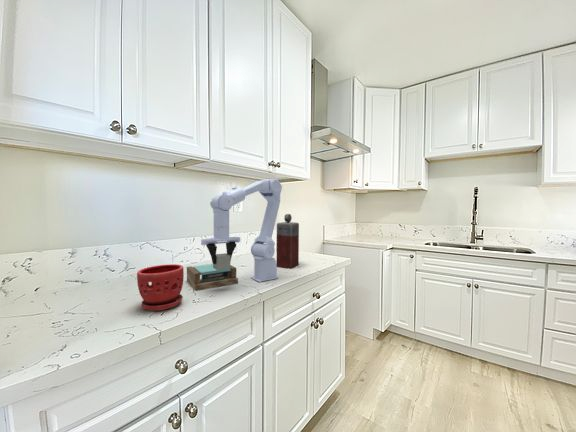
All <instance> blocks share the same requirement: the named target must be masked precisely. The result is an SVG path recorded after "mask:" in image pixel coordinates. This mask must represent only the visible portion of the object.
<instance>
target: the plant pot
mask: <svg viewBox="0 0 576 432" xmlns="http://www.w3.org/2000/svg"><path fill="white" fill-rule="evenodd" d="M184 273H185V272H184V266H183V265H181V264H174V263H173V264H160V265H159V264H158V265H153V266H148V267H144V268H142V269H139V270H138V271H137V273H136V281H137V283H136V284H137V287H138V292H139V295H140V297H141V298H142V301H141V302H140V303H141V306H142V308H143V309H144V310H147V311H155V312H157V311H163V310H167V309H171V308H174V307H175V306H177V305H179V304H180V303H181V301H182V300H183V295H182V293H181V292H182V291H183V290H182V289H183V285H184V279H185V278H184V275H185V274H184ZM149 283H151V284H149Z"/></svg>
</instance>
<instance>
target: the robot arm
mask: <svg viewBox="0 0 576 432" xmlns="http://www.w3.org/2000/svg"><path fill="white" fill-rule="evenodd" d="M282 190H283V185H282V184H281V182H280V180H279V179H278V178H272V179H271V178H269V179H261V180H257V181H255V182H253V183H251V184H249V185H246V186H245V187H243V188H242V187H237V186H233V187H232V188H231V189H230V190H228V191H222V193H221V194H217V195H214V196H213V197H212V199H211V201H210V203H209V205H210V207H211V208H212V212H213V237H212V238H204V239H203V238H201V240H200V241H201V243H200V245H202V246H206V248H207V250H208V252H209V255H210V257H211V262H212V263H211V264H216V254H217V249H218V246H217V245H218V244H219V245H220V244H225V248H226V254H228V255H230V263H231V260H232V256H233V253H234V251H235V250H236V247H237V243H241V236H230V210H231V209H232V207H233V206H235V205H237V204H239V203H241V202H243V201H245V199H246V197H247V196H250V195H252V194H254V193H256V192H259V194H260V195H261V196H262V197H263V198H264V200H266V201H267V202H266V203H267V204H266V207H265V211H264V217H263V220H262V224H261V226H260V227H261V229H260V232H259V235H258V236H257V237H256V238H254V241H253V243H252V244H251V247H250V253H251V255H252V257H253V263H254V264H253V267H254V269H253V270H254V271H253V273H254V275H251V276H250V278H251V279H252V280H255V281H256V282H260V283H261V282H266V281H270V280H271V281H272V280H275V279H278V277H277V269H278V267H277V259H275V257H274V255H275V252H276V251H275V250H276V249H275V245H276V243H275V241H274V240H273V233H274V229H275V225H276V220H277V217H278V212H279V208H280V205H281V193H282Z"/></svg>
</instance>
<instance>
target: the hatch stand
mask: <svg viewBox="0 0 576 432" xmlns="http://www.w3.org/2000/svg"><path fill="white" fill-rule="evenodd" d="M227 272H228V276H225V277H223V278H224V279H220V280H213V281H207V282H201V275H200V273H199V272H198V271H197V270H196V269H194V268H193V266H191V265H190V266H186V282H187V283H188V284H189V285H190V286H191V287H192V288H193V289H194V291H201V290H207V289H214V288H220V287H224V286H229V285H235V284H238V283H239V278H238V277H237V267H235V266H234V265H232V264H230V271H227Z"/></svg>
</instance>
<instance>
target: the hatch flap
mask: <svg viewBox="0 0 576 432" xmlns="http://www.w3.org/2000/svg"><path fill="white" fill-rule="evenodd" d="M192 267H193V268H194V269H196V270H197V271H198V272H199V273H200V276H201V280H202V281H205V280H212V279H218V278H224V277H225V276H228V272H227V271H230V269H224V270H216V269H214V268H213V263H209V264H203V265H193V266H192Z"/></svg>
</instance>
